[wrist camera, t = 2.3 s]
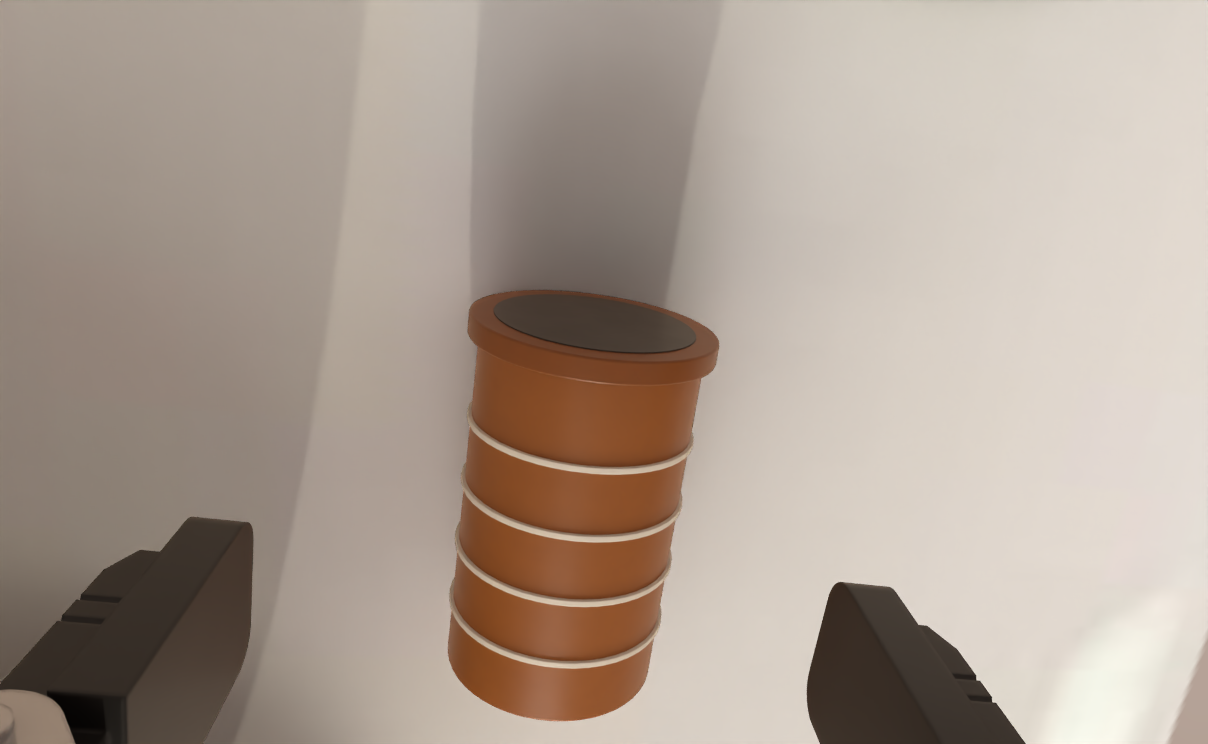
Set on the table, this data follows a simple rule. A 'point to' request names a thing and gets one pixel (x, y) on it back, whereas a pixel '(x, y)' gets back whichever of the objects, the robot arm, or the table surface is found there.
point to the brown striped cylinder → (570, 496)
